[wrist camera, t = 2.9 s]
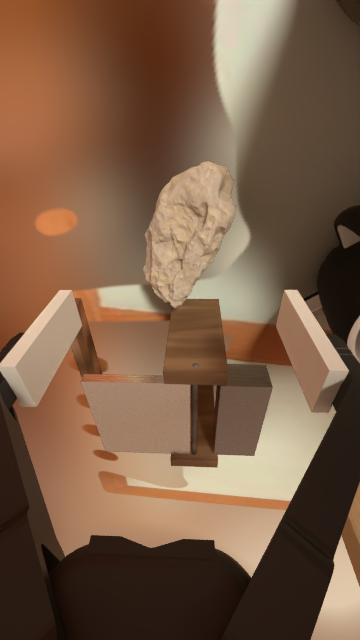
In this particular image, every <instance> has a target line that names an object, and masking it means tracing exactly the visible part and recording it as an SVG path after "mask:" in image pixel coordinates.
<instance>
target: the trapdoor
mask: <svg viewBox="0 0 360 640" xmlns="http://www.w3.org/2000/svg"><path fill="white" fill-rule="evenodd" d="M227 367H228V381H227V385H217V390H216V401H215V413H214V425H213V445H214V454H219V455H246V456H254V454H255V450H256V447H257V443H258V439H259V436H260V432H261V428H262V425H263V421H264V417H265V413H266V410H267V406H268V402H269V399H270V395H271V391H272V388H273V387H272V383H271V380H270V377H269V373H268V370H267V366H266V365H242V364H227ZM81 384H82V387H83V390H84V392H85V395H86V398H87V401H88V404H89V406H90V409H91V412H92V415H93V417H94V420H95V423H96V426H97V429H98V431H99V434H100V437H101V440H102V443H103V445H104V448H105V451H114V452H115V451H116V452H142V453H170V454H190V385H185V384H164V377H163V376H150V375H149V376H148V375H102V374H84V375H83V377H82V380H81Z"/></svg>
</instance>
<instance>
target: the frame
mask: <svg viewBox="0 0 360 640" xmlns="http://www.w3.org/2000/svg"><path fill="white" fill-rule="evenodd" d="M74 299H75V298H74ZM75 302H76V306H77V309H78V312H79V316H80V319H81V323H82V327H81V328H80V330H79V332H78V334H77V336H76V337H75V339H74V341H73V343H72V344H71V348H72V351H73V354H74V357H75V360H76V363H77V366H78V368H79V371H80V374H81V377H83V375H84V374H102V372H101V368H100V365H99V361H98V357H97V354H96V350H95V347H94V343H93V340H92V336H91V333H90V330H89V325H88V322H87V318H86V315H85V311H84V308H83V304H82V301H81V299H75ZM163 377H164V384H185V385H190V454H171V466H194V467H217V465H218V455H217V454H214V445H213V425H214V413H215V408H214V393H213V385H227V381H228V367H227V360H226V352H225V344H224V336H223V329H222V321H221V313H220V306H219V299H186V300H185V301H184V302H183V304H182V305H180V306H178V307H176V308H174V307H172V310H171V317H170V325H169V332H168V339H167V347H166V355H165V362H164V369H163Z"/></svg>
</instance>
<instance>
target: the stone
mask: <svg viewBox="0 0 360 640" xmlns="http://www.w3.org/2000/svg"><path fill="white" fill-rule="evenodd" d="M233 184H234V179H233V178H232V177H231V176H230V173H229V170H227V169H226V168H225V166H223V165H222V166H220V165H217V164H214V163H211V162H208V161H206V162H203V163H201V164H200V165H199V166H196V167H192V168H190V169H188V170H187V171H185V172H183V173H181V174H178V175H177V176H175V177H173V178H172V179H171V181H170V182H169V183H168V184H167V185H166V186H165V187H164V188H163V190H162V191H161V193H160V195H159V198H158V201H157V203H156V211H155V213H154V214H153V218H152V221H151V222H150V227H149V229H148V230H147V232H146V234H145V237H146V242H147V247H146V255H147V257H146V259H145V261H146V264H145V266H144V267H143V273H144V275H145V280H146V281H147V282H148V283H150V284H151V286H152V289H153V290H154V293H155V294H156V295H157V296H158V297H159V298H161V299H162V300H163V301H164V302H166V303H170V305H171V306H172V307H174V308H176V307H178V306H180V305H182V304H183V302H184V301H185V300H186V298H187V296H188V295H190V293H191V290H192V287H193V286H194V285H195V282H196V281H197V280H198V279H199V278H200V276H201V275H202V273H203V272H204V270H205V269H206V268H207V267H208V266H209V265H210V263H212V261H213V259H214V257H215V255H216V254H217V252H218V250H219V249H220V245H221V242H222V239H223V236H224V234H226V232H228V230H229V229H230V227H231V224H232V222H233V218H234V213H235V208H236V206H235V205H234V204H233V201H232V197H231V191H232V187H233Z"/></svg>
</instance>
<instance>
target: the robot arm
mask: <svg viewBox="0 0 360 640" xmlns="http://www.w3.org/2000/svg"><path fill="white" fill-rule="evenodd" d="M337 1H338V3H339V5H340V6H341V8H342V9H343V10H344V12H345V13H346V14H347V15H348V16H349V17H350V18H351V19H352V20H353V21H354V22H356V23H357V24H359V25H360V0H337ZM81 327H82V323H81V319H80V316H79V312H78V309H77V306H76V302H75V299H74V296H73V292H72V290H60V291H59V292H58V293H57V294H56V296H55V297H54V298H53V299H52V301H51V302H50V303H49V304H48V305H47V307H46V308H45V309H44V311H43V312H42V313H41V314H40V315H39V316H38V318H37V319H36V320H35V321H34V322H33V324H32V325H31V326H30V327H29V329H28V330H27V331H26V332H25V333H19V334H17V335H16V336H15V337H13V338H12V339H11V340H10V341H9V342H8V343H7V344H6V347H4V348H3V349H2V350H1V352H0V640H310V639H311V636H312V633H313V630H314V628H315V625H316V622H317V619H318V615H319V613H320V610H321V607H322V604H323V601H324V598H325V595H326V592H327V589H328V586H329V583H330V580H331V577H332V574H333V570H334V562H333V559H334V554H335V552H336V549H337V546H338V543H339V540H340V537H341V534H342V532H343V529H344V526H345V523H346V520H347V517H348V514H349V511H350V509H351V506H352V503H353V500H354V497H355V494H356V491H357V489H358V486H359V483H360V363H359V362H358V360H357V359H356V357H355V356H354V355H353V353H352V352H351V350H350V349H349V348H348V346H347V345H346V343H345V342H344V340H342V339H341V338H340V337H338V336H337V335H336V334H325V333H324V331H323V329H322V328H321V326H320V325H319V323H318V322H317V320H316V319H315V317H314V315H313V314H312V312H311V311H310V309H309V308H308V306H307V305H306V303H305V301H304V300H303V298H302V297H301V295H300V294H299V292H298V290H284V293H283V297H282V302H281V306H280V310H279V315H278V319H277V323H276V328H277V330H278V333H279V335H280V337H281V340H282V342H283V345H284V347H285V349H286V352H287V354H288V357H289V359H290V361H291V364H292V366H293V369H294V371H295V373H296V376H297V378H298V381H299V383H300V385H301V388H302V390H303V393H304V395H305V397H306V400H307V402H308V405H309V407H310V409H311V412H326V413H329V411H330V409H331V407H332V404H333V406H334V408H335V410H336V414H335V416H334V418H333V420H332V422H331V424H330V426H329V428H328V430H327V432H326V434H325V436H324V438H323V440H322V441H321V443H320V445H319V447H318V449H317V451H316V453H315V455H314V457H313V459H312V461H311V463H310V465H309V467H308V469H307V471H306V473H305V475H304V477H303V479H302V481H301V482H300V484H299V486H298V488H297V490H296V492H295V494H294V496H293V498H292V500H291V502H290V504H289V506H288V508H287V510H286V512H285V514H284V516H283V518H282V520H281V522H280V523H279V525H278V527H277V529H276V531H275V533H274V535H273V537H272V539H271V541H270V543H269V545H268V547H267V549H266V551H265V553H264V555H263V556H262V558H261V561H260V562H259V564H258V566H257V568H256V570H255V572H254V574H253V576H252V578H251V577H250V576H249V574H248V573H247V572H246V571H245V570H244V568H243V567H242V566H241V565H240V564H239V563H238V562H237V561H235V560H234V559H233V558H232V557H230V556H229V555H227V554H226V553H224V552H222V551H220V550H217V549H215V546H214V540H194V539H182V540H179V541H175V542H172V543H168V544H165V545H162V546H158V547H155V548H149V547H146V546H143V545H141V544H138V543H136V542H133V541H131V540H128V539H126V538H123V537H120V536H98V535H92V536H91V538H90V542H89V544H88V545H85V546H83V547H81V548H78V549H77V550H75V551H74V552H72V553H70V554H69V555H67V556H66V557H65V555H64V553H63V551H62V548H61V546H60V545H59V542H58V540H57V538H56V535H55V533H54V529H53V526H52V523H51V520H50V517H49V514H48V511H47V508H46V505H45V502H44V498H43V495H42V492H41V489H40V486H39V483H38V480H37V477H36V474H35V471H34V468H33V464H32V462H31V458H30V455H29V452H28V449H27V446H26V443H25V440H24V437H23V433H22V431H21V427H20V424H19V421H18V418H17V415H16V412H15V409H14V408H13V406H12V405H13V403H14V402H15V401H16V399H17V400H18V402H19V404H20V405H21V406H22V407H37V405H38V403H39V401H40V400H41V398H42V396H43V394H44V393H45V391H46V389H47V387H48V385H49V384H50V382H51V380H52V378H53V376H54V375H55V373H56V371H57V369H58V367H59V366H60V364H61V362H62V361H63V359H64V357H65V355H66V353H67V352H68V350H69V348H70V346H71V344H72V343H73V341H74V339H75V337H76V336H77V334H78V332H79V330H80V328H81Z"/></svg>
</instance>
